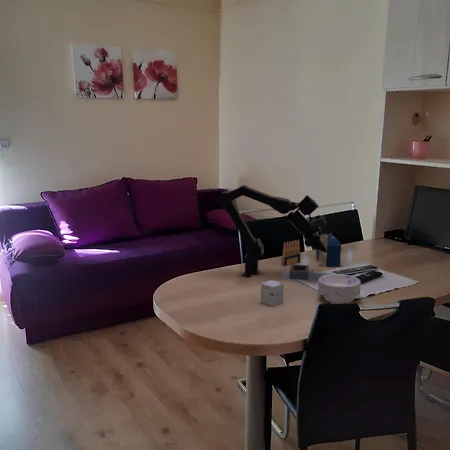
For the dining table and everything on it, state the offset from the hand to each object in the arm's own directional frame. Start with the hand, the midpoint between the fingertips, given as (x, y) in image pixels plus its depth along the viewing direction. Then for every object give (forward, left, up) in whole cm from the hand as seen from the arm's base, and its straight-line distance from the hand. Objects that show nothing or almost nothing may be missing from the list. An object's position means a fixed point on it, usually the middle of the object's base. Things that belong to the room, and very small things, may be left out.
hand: (326, 250), depth 193 cm
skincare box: (-35, +8, -13) cm, 38 cm away
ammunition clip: (+12, +21, -13) cm, 27 cm away
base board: (-2, +6, -13) cm, 14 cm away
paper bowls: (-20, -12, -13) cm, 27 cm away
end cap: (-3, +10, -12) cm, 16 cm away
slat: (0, +1, -7) cm, 7 cm away
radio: (+26, +8, -13) cm, 30 cm away
